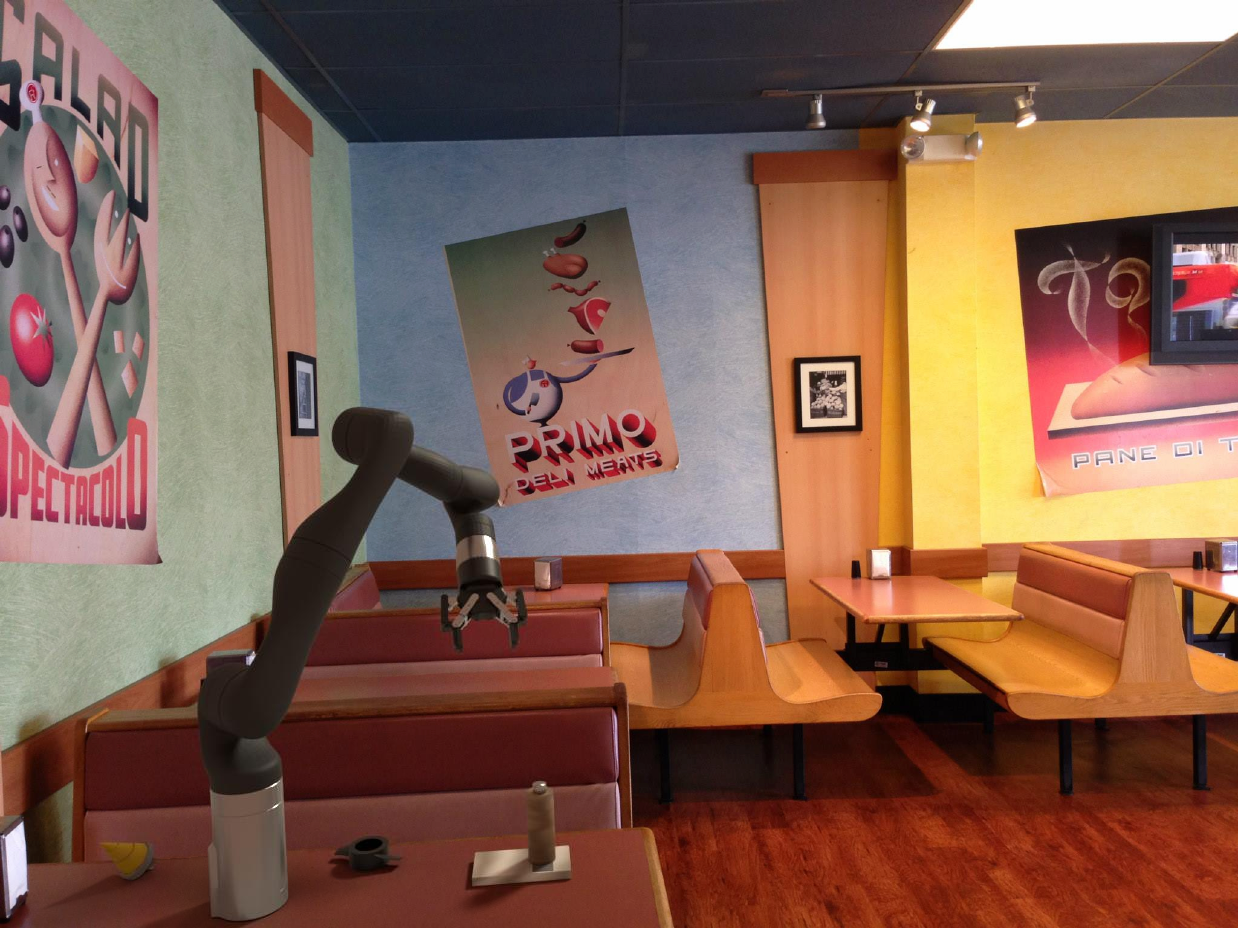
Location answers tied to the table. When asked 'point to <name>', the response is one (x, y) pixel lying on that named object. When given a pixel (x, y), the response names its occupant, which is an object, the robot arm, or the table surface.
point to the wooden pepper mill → (540, 824)
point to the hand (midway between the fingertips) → (487, 648)
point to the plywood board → (518, 867)
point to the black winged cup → (368, 853)
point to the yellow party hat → (131, 857)
